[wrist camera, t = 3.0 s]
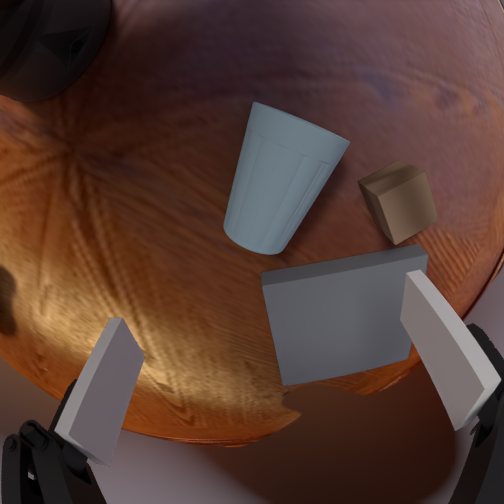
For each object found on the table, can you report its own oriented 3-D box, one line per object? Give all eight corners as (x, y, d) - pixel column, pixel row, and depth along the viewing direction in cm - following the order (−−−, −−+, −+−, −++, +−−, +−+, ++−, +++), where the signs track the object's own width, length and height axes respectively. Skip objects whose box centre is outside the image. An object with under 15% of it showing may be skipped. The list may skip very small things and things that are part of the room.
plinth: (281, 372, 38) (283, 386, 35) (261, 272, 30) (261, 285, 28) (401, 346, 36) (407, 358, 34) (417, 243, 28) (428, 254, 26)
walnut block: (375, 223, 27) (395, 245, 23) (357, 181, 25) (377, 196, 21) (413, 202, 26) (438, 220, 22) (398, 159, 24) (424, 171, 20)
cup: (205, 205, 26) (244, 96, 21) (279, 222, 29) (321, 127, 24) (215, 254, 20) (271, 108, 15) (307, 269, 23) (369, 151, 18)
